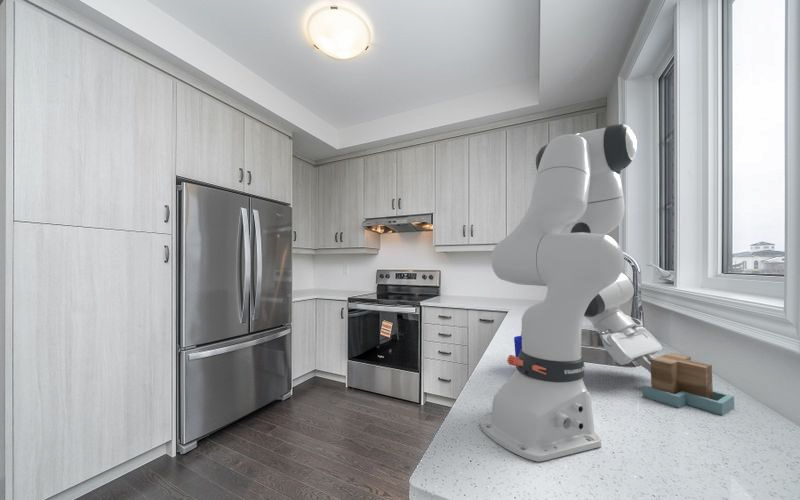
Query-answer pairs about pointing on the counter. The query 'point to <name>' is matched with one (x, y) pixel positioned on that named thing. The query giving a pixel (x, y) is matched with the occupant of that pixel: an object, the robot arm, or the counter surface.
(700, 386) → the t block
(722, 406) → the t pocket
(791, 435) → the counter surface
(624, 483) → the counter surface
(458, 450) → the counter surface
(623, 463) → the counter surface
